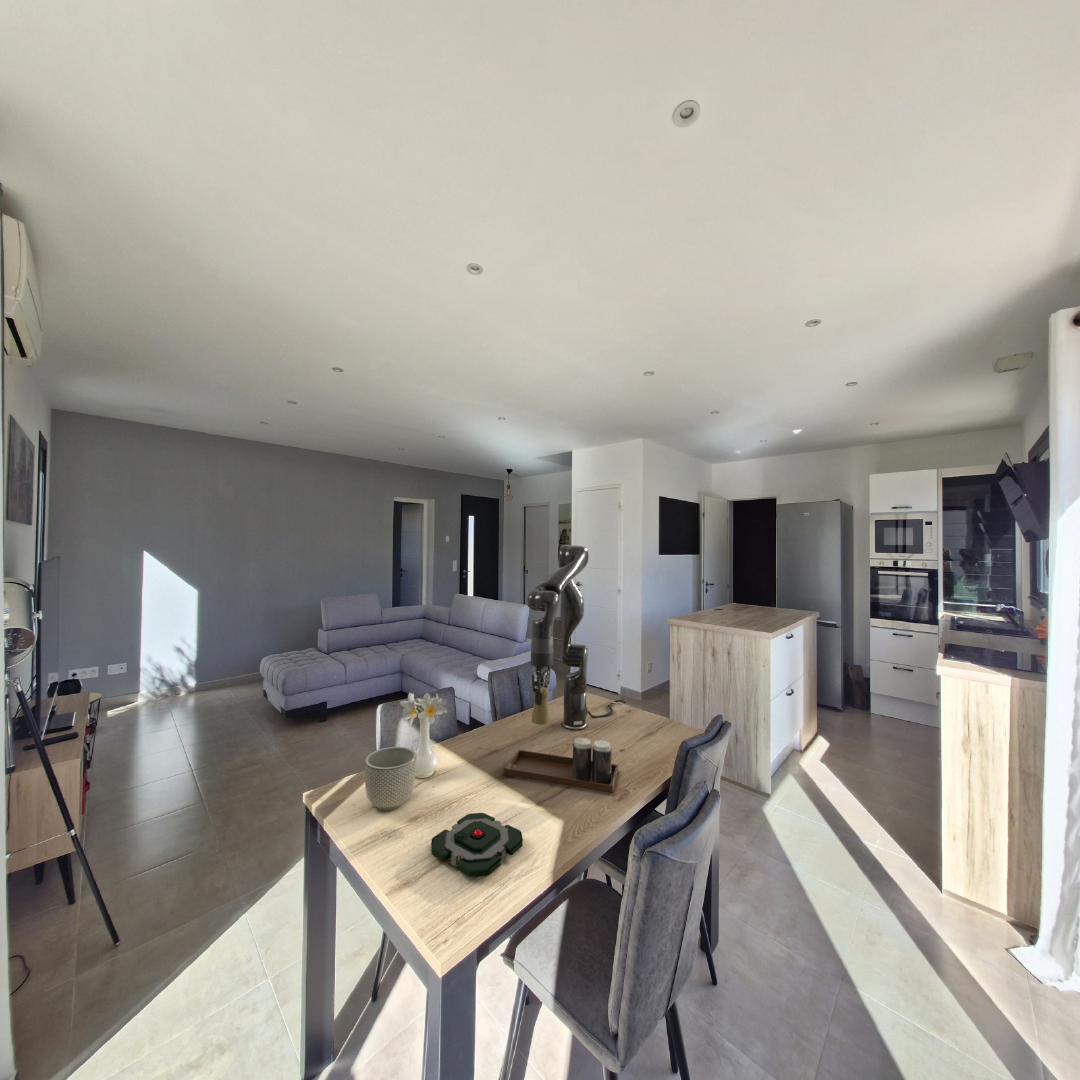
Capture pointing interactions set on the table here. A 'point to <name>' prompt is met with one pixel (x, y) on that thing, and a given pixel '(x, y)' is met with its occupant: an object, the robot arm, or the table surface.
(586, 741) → the cylinder
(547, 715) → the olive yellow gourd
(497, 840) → the flat green button pad
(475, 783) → the table surface
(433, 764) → the flower vase
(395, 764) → the planter
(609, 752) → the black shaker
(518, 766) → the tray
